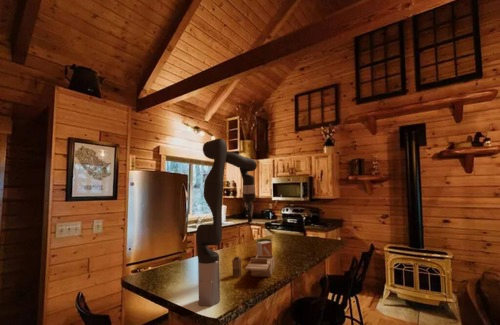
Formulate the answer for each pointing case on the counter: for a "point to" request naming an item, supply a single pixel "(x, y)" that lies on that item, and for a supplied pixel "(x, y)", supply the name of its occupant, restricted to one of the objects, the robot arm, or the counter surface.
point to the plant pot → (263, 240)
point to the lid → (258, 264)
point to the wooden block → (236, 267)
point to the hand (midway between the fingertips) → (250, 222)
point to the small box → (264, 248)
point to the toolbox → (264, 272)
